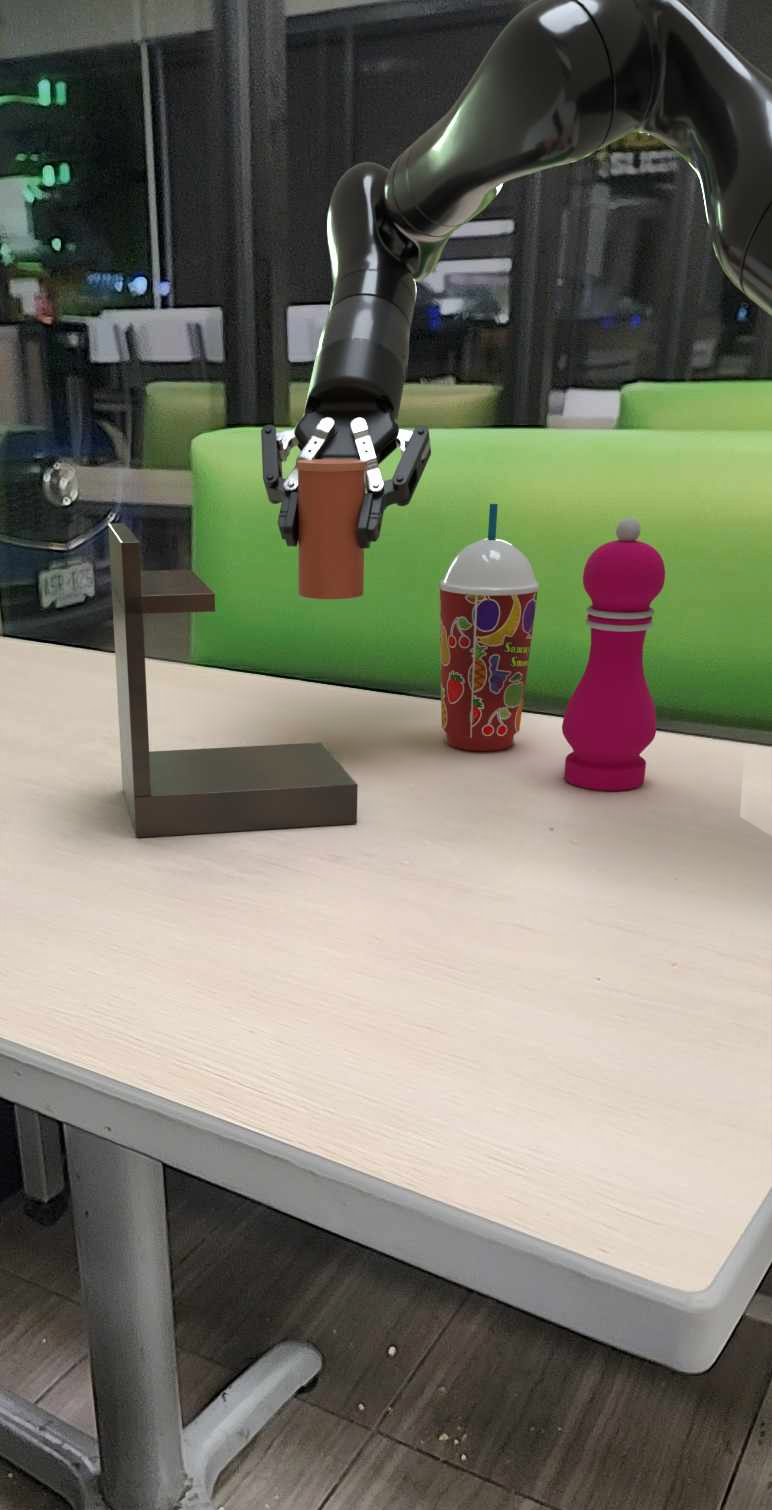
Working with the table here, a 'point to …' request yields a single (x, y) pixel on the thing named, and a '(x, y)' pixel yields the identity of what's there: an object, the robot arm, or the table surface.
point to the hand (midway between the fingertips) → (326, 540)
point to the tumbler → (330, 528)
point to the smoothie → (485, 642)
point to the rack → (211, 780)
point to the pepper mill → (615, 667)
